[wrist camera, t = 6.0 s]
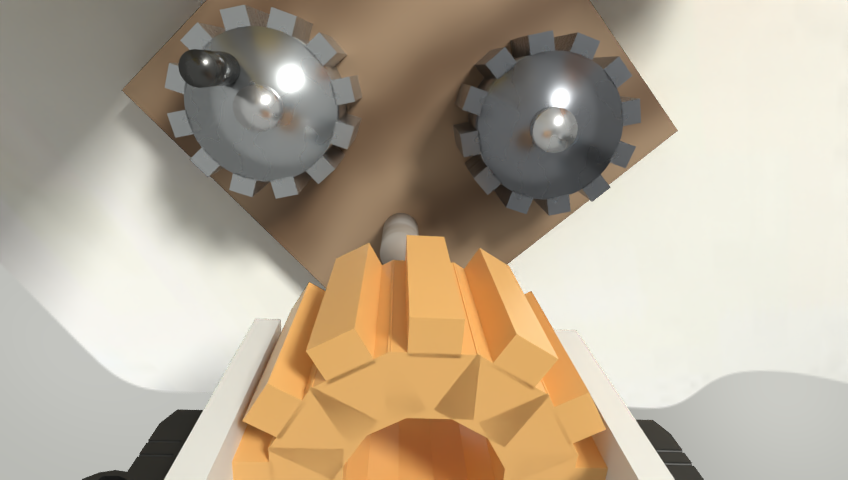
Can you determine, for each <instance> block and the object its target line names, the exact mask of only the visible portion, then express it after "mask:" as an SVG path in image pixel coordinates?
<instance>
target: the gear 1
mask: <svg viewBox="0 0 848 480" xmlns="http://www.w3.org/2000/svg"><path fill="white" fill-rule="evenodd" d="M220 13H221V16H222V20H223V23H224V27H225V28H222V27H217V26H212V25H208V24H203V23H199V22H197V23H196V24H195V25H194V26H193V27H192V28H191V29H190V31H189V32H188V33H187V34H186V35H185V36H184V37H183V38H182V39H181V40H180V41H181V42H182V43H183V44H184V45H185V46H186V47H187V48H188V49H189V50H188V51H186V52H184V53H183V54H182V56H181V57H180V59H179V63H169V66H168V71H167V77H166V83H165V88H167V89H170V90H173V91H176V92H179V93H182V94H184V105H185V110H182V111H177V112H172V113H167V115H168V118H169V121H170V124H171V127H172V129H173V132H174V135H175V138H177V137H182V136H187V135H192V134H194V136H195V138H196V140H197V141H198V143H199V144H200V146H201V147H202V148H201V149H200V150H199V151H198V152H197V153H196V154H195V155H194V156H193V157H192V158H191V159H190V161H192V162H193V163H194V164H195V165H196V166H197V167H198V168H199V169H200V170H201V171H202V172H203V173H204V174H205V175H206V176H207V177H209V176H211V175H212V174H214V173H216V172H218V171H220V170H222V169H223V168H225V169H226V170H228V171H230V172H232V173H233V175H232V180H231V184H230V188H229V190H231V191H234V192H237V193H240V194H243V195H247V196H250V197H253V196H254V195H255V194H257V193H258V192H259V191H260V190H261V189H263V188H264V187H265V186H266V185H267V184H269V183H270V182H271V185H272V188H273V191H274V195H275V198H276V199H277V198H282V197H287V196H292V195H297V194H299V193H300V192H301V190H302V189H303V188H304V187H305V186H306V185H307V183H308V182H309V181H310V180H311V179H312V178H313V179H314V180H315V181H316V182H317V183H318V184H319V183H320V182H321V181H323V180H324V179H325V178H326V177H327V176H328V175H329V174H330V173H331V172H333V171H334V170H335V169H336V167H337V166H338V164H339V163H340V162H341V160H342V159H343V157H344V156H345V155H344V153H343V152H342V151H341V150H340V149H339V148H338V147H337V146H339V147H342V148H345V149H348V148H349V147H350V145H351V144H352V143H353V141H354V140H355V138H356V136H357V132H358V129H359V126H360V122H361V119H362V118H359V117H356V116H353V115H350V114H348V113H346V111H347V103H351V102H355V101H357V100H358V99H360V98H361V97H362V93H361V88H360V84H359V79H358V75H356V76H350V77H345V78H341V76H340V74H339V72H338V70H337V68H336V67H335V66H336V65H337V64H338V63H339V62H340V61H341V60H342V59H343V58H344V57H346V56H347V54H346V53H345V52H344V50H343V49H342V48H341V47H340V46H339V45H338V43H337V42H336V41H335V40H334V39H333V38H332V37H330V36H328V35H325V34H323V33H320V32H319V33H318V34H317V35H316V36H315V37H314V38H313V39H312V40H311V41H310V42H309V38H310V34H311V30H312V27H313V24H312V23H310V22H308V21H306V20H304V19H302V18H299V17H297V16H295V15H292V14H289V13H287V12H284V11H281V10H278V9H276V8H273V7H271V10H270V15H269V14H267V13H265V12H262V11H260V10H257V9H255V8H252V7H249V6H247V5H241V6H236V7H231V8H226V9H221V10H220Z"/></svg>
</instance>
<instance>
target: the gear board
mask: <svg viewBox="0 0 848 480" xmlns="http://www.w3.org/2000/svg"><path fill="white" fill-rule="evenodd" d="M241 5H247V6H249V7H252V8H255V9H257V10H260V11H262V12H265V13H267V14H269V15H270V10H271V7H273V8H276V9H278V10H281V11H284V12H287V13H289V14H292V15H295V16H297V17H299V18H302V19H304V20H306V21H308V22H310V23H312V24H313V27H312V30H311V34H310V38H309V42H310V41H311V40H312V39H313V38H314V37H315V36H316V35H317V34H318V33H319V32H320V33H323V34H325V35H328V36H330V37H332V38H333V39H334V40H335V41H336V42H337V43H338V45H339V46H340V47H341V48H342V49H343V50H344V52H345V53H346V54H347V56H346V57H344V58H343V59H342V60H341V61H340V62H339V63H338V64H337V65H336V66H335V67H336V68H337V70H338V72H339V74H340V76H341V78H345V77H350V76H356V75H358V79H359V84H360V88H361V93H362V97H361V98H360V99H358V100H357V101H355V102H351V103H347V111H346V113H348V114H350V115H353V116H356V117H359V118H362V119H361V122H360V126H359V129H358V132H357V136H356V138H355V140H354V141H353V143H352V144H351V145H350V147H349V148H348V149H345V148H342V147H339V146H337V147H338V148H339V149H340V150H341V151H342V152H343V153H344V155H345V156H344V157H343V159H342V160H341V162H340V163H339V164H338V166H337V167H336V169H335V170H334V171H333V172H331V173H330V174H329V175H328V176H327V177H326V178H325V179H324V180H323V181H321V182H320V183H319V184H318V183H317V182H316V181H315V180H314V179H313V178H312V179H311V180H310V181H309V182H308V183H307V185H306V186H305V187H304V188H303V189H302V190H301V192H300V193H299V194H297V195H292V196H287V197H282V198H277V199H276V198H275V195H274V191H273V188H272V185H271V182H270V183H269V184H267V185H266V186H265V187H264V188H263V189H261V190H260V191H259V192H258V193H257V194H255V195H254V196H253V197H250V196H247V195H243V194H240V193H237V192H234V191H231V190H229V188H230V184H231V180H232V175H233V173H232V172H230V171H228V170H226V169H225V168H223V169H222V170H220V171H218V172H216V173H214V174H212V175H211V177H212V178H213V179H214V180H215V181H216V182H217V183H218V184H219V185H220V186H221V187H222V188H223V189H224V190H225V191H226V192H227V193H228V194H229V195H230V196H231V197H232V198H233V199H234V200H235V201H236V202H237V203H239V204H240V205H241V206H242V207H243V208H244V209H245V210H246V211H247V212H248V213H249V214H250V215H251V216H252V217H253V218H254V219H255V220H256V221H257V222H258V223H259V224H260V225H261V226H262V227H263V228H264V229H265V230H266V231H267V232H268V233H269V234H271V235H272V236H273V237H274V238H275V239H276V240H277V241H278V242H279V243H280V244H281V245H282V246H283V247H284V248H285V249H286V250H287V251H288V252H289V253H290V254H291V255H292V256H293V257H294V258H295V259H296V260H297V261H298V262H299V263H300V264H301V265H303V266H304V267H305V268H306V269H307V270H308V271H309V272H310V273H311V274H312V275H313V276H314V277H315V278H316V279H317V280H318V281H319V282H320V283H321V284H322V285H323V286H324V287H325V288H327V285H328V282H329V279H330V276H331V273H332V270H333V266H334V263H335V260H336V258H339V257H341V256H343V255H345V254H347V253H349V252H351V251H353V250H355V249H357V248H359V247H361V246H363V245H365V244H367V243H370V245H371V247H372V248H373V250H374V252H375V254H376V255H377V257H378V259H379V261H380V262H381V264H382V265H384V264H386V263H388V262H390V261H392V260H404V261H405V254H406V236H407V235H417V236H438V237H444V238H445V242H446V246H447V250H448V254H449V258H450V262H451V263H453V262H454V263H456V264H457V265H459V266H460V267H462V268H465V267H466V265H467V264H468V263H469V261H470V260H471V259H472V257H473V256H474V255H475V253H476V252H477V251H478V249H479V248H481V249H482V250H484V251H486V252H487V253H489V254H490V255H492V256H494V257H495V258H497V259H498V260H500V261H502V262H503V263H505V264H506V265H507V264H508V263H509V262H511V261H512V260H513V259H514V258H516V257H517V256H518V255H520V254H521V253H522V252H523V251H525V250H526V249H527V248H529V247H530V246H531V245H532V244H534V243H535V242H536V241H537V240H539V239H540V238H541V237H543V236H544V235H545V234H546V233H548V232H549V231H550V230H551V229H553V228H554V227H555V226H557V225H558V224H559V223H560V222H562V221H563V220H564V219H566V218H567V217H568V216H569V215H571V214H572V213H573V212H574V211H576V210H577V209H578V208H580V207H581V206H582V205H583V204H585V203H586V202H587V201H589V199H587V198H586V197H585V196H583V195H582V194H581V193H579V192H578V191H577V192H576V193H573V194H570V195H569V198H570V208H571V212H566V213H560V214H555V215H550V216H549V215H548V214H547V213H546V212H545V211H544V210H543V209H542V208H541V207H540V206H539V205H538V204H537V203H536V202H535V201H534V200H532V203H531V205H530V207H529V210H528V212H527V214H524V213H521V212H518V211H515V210H512V209H509V208H506V207H505V205H504V204H503V203H502V201H501V200H500V198H499V197H498V196H497V194H496V193H495V191H494V190H493V191H492V192H491V193H490V194H488V195H487V194H486V192H485V191H484V190H483V189H482V188H481V187H480V185H479V184H478V183H477V182H476V181H475V179H474V178H473V177H472V175H471V173H470V172H469V170H468V168H467V167H466V165H465V162H466V161H468V160H469V159H470V158H471V157H472V156H469V157H463V155H462V154H461V152H460V150H459V149H458V147H457V146H456V142H455V136H454V130H453V125H455V124H460V123H465V122H468V115H469V112H468V111H465V110H462V109H461V108H460V107H458V106H457V105H456V104H455V101H456V98H457V95H458V93H459V90H460V87H461V84H462V83H463V84H466V85H470V86H473V87H476V88H478V86H479V84H480V83H481V81H482V80H483V79H484V77H483V75H482V74H481V73H480V72H479V70H478V69H477V68H476V66H475V65H474V64H476V63H477V62H478V61H479V60H480V59H481V58H482V57H483V56H485V55H486V54H487V53H488V52H489V51H490V50H493V49H498V48H503V47H505V48H506V49H507V50H508V52H509V53H510V54H511V56H512V48H511V40H512V39H516V38H520V37H523V36H527V35H532V34H537V33H542V32H546V31H551V30H553V34H554V37H557V36H562V35H567V34H572V33H577V32H579V33H581V34H584V35H586V36H589V37H591V38H594V39H596V40H599V41H600V43H599V46H598V48H597V50H596V53H595V55H594V57H593V58H595V57H613V56H619V57H620V58H621V60H622V61H623V62H624V64H625V65H626V67H627V68H628V70H629V71H630V73H631V74H632V77H630V78H629V79H628V80H627V81H626V82H624V83H623V84H622V85H621V86H620V87H618V88H617V90H618V92H619V95H620V96H624V97H631V98H639V99H640V109H641V123H637V124H632V125H627V126H623V130H622V136H621V139H620V141H622V142H625V143H628V144H630V145H633V146H636V148H635V150H634V152H633V154H632V156H631V158H630V161H629V163H628V165H627V167H626V168H623V167H620V166H618V165H615V164H612V163H609V165H608V166H607V168H606V169H605V170H604V171H603V172H602V173H601V175H602V177H603V178H604V179H605V181H606V182H607V183H608V185H609V184H610V183H612V182H613V181H614V180H615V179H617V178H618V177H619V176H620V175H622V174H623V173H624V172H626V171H627V170H628V169H629V168H631V167H632V166H633V165H635V164H636V163H637V162H638V161H640V160H641V159H642V158H643V157H645V156H646V155H647V154H649V153H650V152H651V151H652V150H654V149H655V148H656V147H657V146H659V145H660V144H661V143H663V142H664V141H665V140H666V139H668V138H669V137H670V136H672V135H673V134H674V133H675V132H677V131H678V130H677V129H676V127H675V126H674V124H673V123H672V121H671V120H670V118H669V117H668V116H667V114H666V113H665V111H664V110H663V108H662V107H661V105H660V104H659V102H658V101H657V99H656V98H655V96H654V95H653V93H652V92H651V90H650V89H649V87H648V86H647V84H646V83H645V82H644V80H643V79H642V77H641V76H640V74H639V73H638V71H637V70H636V68H635V67H634V65H633V64H632V62H631V61H630V59H629V58H628V56H627V55H626V53H625V52H624V50H623V49H622V48H621V46H620V45H619V43H618V42H617V40H616V39H615V37H614V36H613V34H612V33H611V31H610V30H609V28H608V27H607V25H606V24H605V22H604V21H603V19H602V18H601V16H600V15H599V14H598V12H597V11H596V9H595V8H594V6H593V5H592V3H591V2H590V0H206V1H205V2H204V3H203V4H202V5H201V7H200V8H199V9H198V10H197V11H196V12H195V13H194V14H193V15H192V16H191V17H190V18H189V19H188V20H187V21H186V22H185V24H184V25H183V26H182V27H181V28H180V29H179V30H178V31H177V32H176V33H175V34H174V35H173V36H172V37H171V38H170V39H169V41H168V42H167V43H166V44H165V45H164V46H163V47H162V48H161V49H160V50H159V51H158V52H157V53H156V54H155V55H154V56H153V58H152V59H151V60H150V61H149V62H148V63H147V64H146V65H145V66H144V67H143V68H142V69H141V70H140V71H139V72H138V73H137V75H136V76H135V77H134V78H133V79H132V80H131V81H130V82H129V83H128V84H127V85H126V86H125V87H124V88H123V89H122V91H123V92H124V93H125V94H126V95H127V96H128V97H129V98H130V99H131V100H132V101H133V102H134V103H135V104H136V105H137V106H138V107H139V108H141V109H142V110H143V111H144V112H145V113H146V114H147V115H148V116H149V117H150V118H151V119H152V120H153V121H154V122H155V123H156V124H157V125H158V126H159V127H160V128H161V129H162V130H163V131H164V132H165V133H166V134H167V135H168V136H169V137H170V138H171V139H172V140H174V141H175V142H176V143H177V144H178V145H179V146H180V147H181V148H182V149H183V150H184V151H185V152H186V153H187V154H188V155H189V156H190V157H191V158H192V157H193V156H194V155H195V154H196V153H197V152H198V151H199V150H200V149H201V148H202V147H201V146H200V144H199V143H198V141H197V140H196V138H195V136H194V134H192V135H187V136H182V137H177V138H175V135H174V132H173V129H172V127H171V124H170V121H169V118H168V115H167V113H172V112H177V111H182V110H185V105H184V94H182V93H179V92H176V91H173V90H170V89H167V88H165V83H166V77H167V71H168V66H169V63H179V59H180V57H181V56H182V54H183V53H184V52H186V51H188V50H189V49H188V48H187V47H186V46H185V45H184V44H183V43H182V42H181V41H180V40H181V39H182V38H183V37H184V36H185V35H186V34H187V33H188V32H189V31H190V29H191V28H192V27H193V26H194V25H195V24H196V23H197V22H199V23H203V24H208V25H212V26H217V27H222V28H225V27H224V23H223V20H222V16H221V13H220V10H221V9H226V8H231V7H236V6H241ZM512 57H513V56H512Z"/></svg>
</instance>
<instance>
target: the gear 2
mask: <svg viewBox="0 0 848 480" xmlns="http://www.w3.org/2000/svg"><path fill="white" fill-rule="evenodd" d="M599 43H600V41H599V40H596V39H594V38H591V37H589V36H586V35H584V34H581V33H579V32H577V33H572V34H567V35H562V36H557V37H554V34H553V30H551V31H546V32H542V33H537V34H532V35H527V36H523V37H520V38H516V39H512V40H511V48H512V56H513V57H512V56H511V54H510V53H509V52H508V50H507V49H506V48H505V47H503V48H498V49H493V50H490V51H489V52H488V53H487V54H486V55H485V56H483V57H482V58H481V59H480V60H479V61H478V62H477V63H476V64H474V65H475V66H476V68H477V69H478V70H479V72H480V73H481V74H482V75H483V77H484V79H483V80H482V81H481V83H480V84H479V86H478V88H476V87H473V86H470V85H466V84H463V83H462V84H461V87H460V90H459V93H458V95H457V98H456V101H455V104H456V105H457V106H458V107H460V108H461V109H462V110H465V111H468V112H469V115H468V122H465V123H460V124H455V125H453V130H454V136H455V142H456V146H457V147H458V149H459V150H460V152H461V154H462V155H463V157H469V156H472V157H471V158H470V159H469V160H468V161H466V162H465V165H466V167H467V168H468V170H469V172H470V173H471V175H472V177H473V178H474V179H475V181H476V182H477V183H478V184H479V185H480V187H481V188H482V189H483V190H484V191H485V192H486V194H487V195H488V194H490V193H491V192H492V191H493V190H494V191H495V193H496V194H497V196H498V197H499V198H500V200H501V201H502V203H503V204H504V205H505V207H506V208H509V209H512V210H515V211H518V212H521V213H524V214H527V212H528V210H529V207H530V205H531V203H532V200H534V201H535V202H536V203H537V204H538V205H539V206H540V207H541V208H542V209H543V210H544V211H545V212H546V213H547V214H548V215H549V216H550V215H555V214H560V213H566V212H571V208H570V198H569V195H570V194H573V193H576V192H577V191H578V192H579V193H581V194H582V195H583V196H585V197H586V198H587V199H589V200H590V201H594V200H595V199H596V198H597V197H599V196H600V195H601V194H603V193H604V192H605V191H606V190H608V189H609V188H610V186H609V185H608V183H607V182H606V181H605V179H604V178H603V177H602V175H601V173H602V172H603V171H604V170H605V169H606V168H607V166H608V165H609V163H612V164H615V165H618V166H620V167H623V168H626V167H627V165H628V163H629V161H630V158H631V156H632V154H633V152H634V150H635V148H636V146H633V145H630V144H628V143H625V142H622V141H620V139H621V136H622V130H623V126H627V125H632V124H637V123H641V109H640V99H639V98H631V97H624V96H620V95H619V92H618V90H617V88H618V87H620V86H621V85H622V84H623V83H624V82H626V81H627V80H628V79H629V78H630V77H632V74H631V73H630V71H629V70H628V68H627V67H626V65H625V64H624V62H623V61H622V60H621V58H620V57H619V56H613V57H595V58H593V57H594V55H595V53H596V50H597V48H598V46H599Z"/></svg>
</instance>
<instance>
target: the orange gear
mask: <svg viewBox="0 0 848 480" xmlns="http://www.w3.org/2000/svg"><path fill="white" fill-rule="evenodd" d="M243 422H245V423H247V424H248V425H247V427H246V429H245V432H244V434H243V436H242V439H241V441H240V444H239V446H238V448H237V451H236V453H235V455H234V458H233V460H232V470H233V480H605V479H606V475H607V471H608V467H607V465H606V463H605V461H604V460H603V458H602V456H601V454H600V452H599V450H598V448H597V446H596V444H595V442H594V440H593V438H592V435H594V434H597V433H599V432H601V431H604V430H606V428H605V426H604V423H603V421H602V419H601V417H600V415H599V412H598V410H597V408H596V406H595V404H594V401H593V399H592V397H591V395H590V393H589V391H588V389H587V387H586V386H585V384H584V382H583V380H582V379H581V377H580V375H579V373H578V372H577V370H576V368H575V366H574V365H573V363H572V361H571V359H570V358H569V356H568V354H567V352H566V351H565V349H564V347H563V345H562V344H561V342H560V340H559V338H558V337H557V335H556V333H555V331H554V330H553V328H552V326H551V324H550V323H549V321H548V319H547V318H546V316H545V314H544V312H543V311H542V309H541V307H540V305H539V304H538V302H537V300H536V298H535V297H534V295H533V293H532V291H531V292H528V293H526V294H524V293H523V291H522V289H521V288H520V286H519V284H518V282H517V280H516V278H515V276H514V274H513V273H512V271H511V269H510V267H509V266H508V265H506V264H505V263H503V262H502V261H500V260H498V259H497V258H495V257H494V256H492V255H490V254H489V253H487V252H486V251H484V250H482V249H481V248H479V249H478V251H477V252H476V253H475V255H474V256H473V257H472V259H471V260H470V261H469V263H468V264H467V265H466V267H465V268H462V267H460V266H459V265H457V264H456V263H454V262H453V263H451V262H450V258H449V254H448V250H447V246H446V242H445V238H444V237H438V236H417V235H407V236H406V254H405V261H404V260H392V261H390V262H388V263H386V264H384V265H382V264H381V262H380V261H379V259H378V257H377V255H376V254H375V252H374V250H373V248H372V247H371V245H370V243H367V244H365V245H363V246H361V247H359V248H357V249H355V250H353V251H351V252H349V253H347V254H345V255H343V256H341V257H339V258H336V260H335V263H334V266H333V270H332V273H331V276H330V279H329V282H328V285H327V288H326V291H324V290H322V289H321V288H319V287H317V286H315V285H314V284H312V283H310V282H309V283H308V285H307V286H306V288H305V289H304V291H303V293H302V294H301V296H300V297H299V299H298V300H297V302H296V303H295V305H294V306H293V308H292V310H291V312H290V314H289V316H288V318H287V321H286V323H285V325H284V328H283V330H282V332H281V334H280V337H279V339H278V341H277V343H276V346H275V348H274V350H273V353H272V355H271V357H270V359H269V362H268V364H267V366H266V368H265V371H264V373H263V375H262V377H261V380H260V382H259V384H258V387H257V389H256V391H255V393H254V396H253V398H252V400H251V402H250V405H249V407H248V409H247V412H246V414H245V416H244V418H243Z"/></svg>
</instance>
